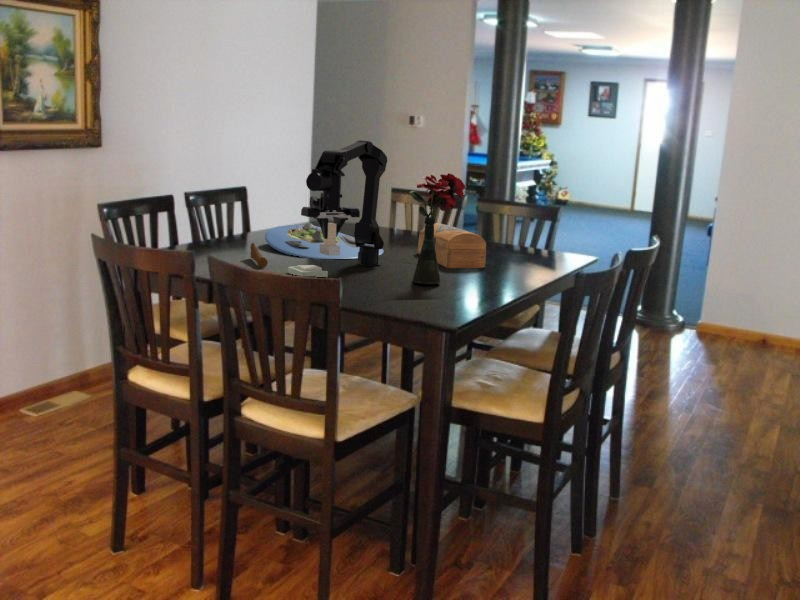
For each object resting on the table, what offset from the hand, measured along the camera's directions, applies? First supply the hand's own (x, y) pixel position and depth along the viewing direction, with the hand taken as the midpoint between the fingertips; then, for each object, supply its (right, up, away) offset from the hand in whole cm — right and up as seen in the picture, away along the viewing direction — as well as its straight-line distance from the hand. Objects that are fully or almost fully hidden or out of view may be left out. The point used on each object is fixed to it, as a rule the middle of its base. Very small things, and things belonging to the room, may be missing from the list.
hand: (329, 238), depth 265 cm
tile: (-7, -12, -1) cm, 14 cm away
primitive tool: (-27, -9, +18) cm, 33 cm away
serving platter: (-7, -3, +51) cm, 51 cm away
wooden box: (+41, -7, +42) cm, 59 cm away
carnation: (+33, -14, 0) cm, 36 cm away
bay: (-7, -12, -2) cm, 14 cm away
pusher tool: (0, -5, +1) cm, 5 cm away
